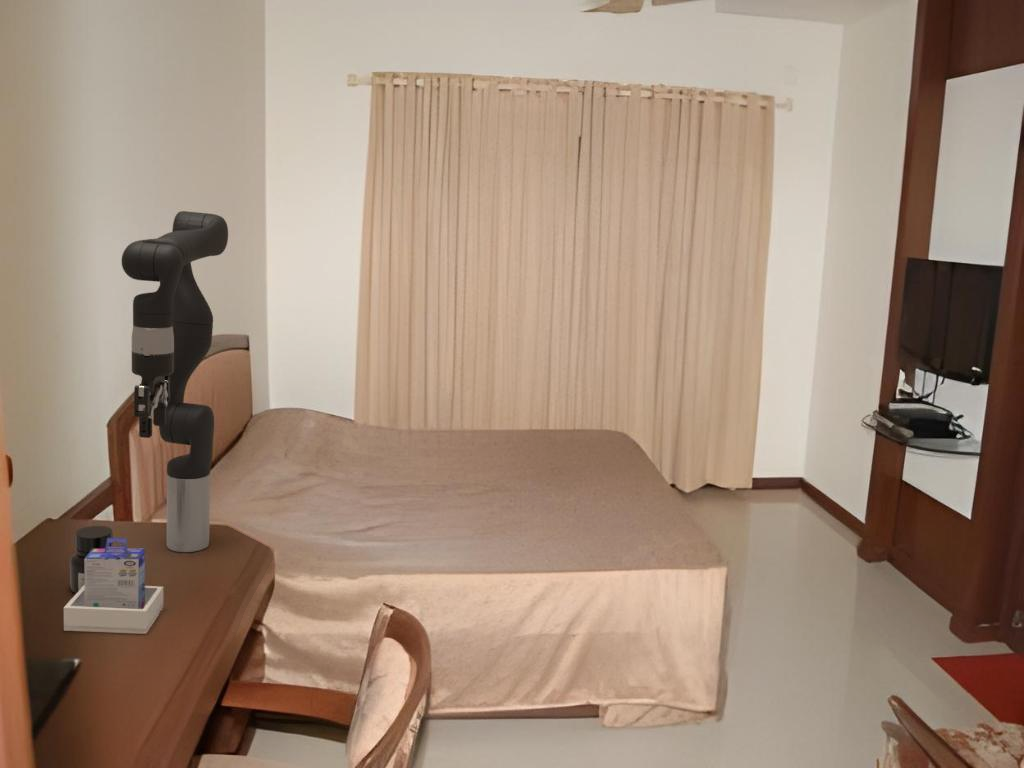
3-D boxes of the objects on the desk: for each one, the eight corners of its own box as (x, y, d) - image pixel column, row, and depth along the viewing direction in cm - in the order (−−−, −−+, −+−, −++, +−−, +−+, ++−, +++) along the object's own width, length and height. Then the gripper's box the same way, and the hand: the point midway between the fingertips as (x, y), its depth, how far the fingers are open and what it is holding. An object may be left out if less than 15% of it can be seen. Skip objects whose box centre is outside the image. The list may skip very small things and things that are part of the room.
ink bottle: (82, 602, 179) (81, 544, 177) (59, 587, 184) (58, 531, 182) (129, 587, 187) (128, 532, 184) (106, 574, 192) (105, 520, 189)
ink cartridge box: (146, 606, 177) (146, 536, 174) (140, 619, 172) (140, 547, 169) (92, 606, 175) (91, 535, 172) (83, 620, 170) (82, 546, 167)
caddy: (86, 604, 178) (85, 583, 177) (163, 608, 179) (163, 586, 178) (63, 630, 168) (63, 607, 167) (145, 633, 169) (145, 611, 168)
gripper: (144, 341, 181) (144, 420, 184) (119, 354, 167) (120, 440, 170) (183, 344, 181) (182, 423, 185) (161, 357, 168) (161, 442, 171)
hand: (152, 431), depth 178 cm, fingers open, 8 cm apart
